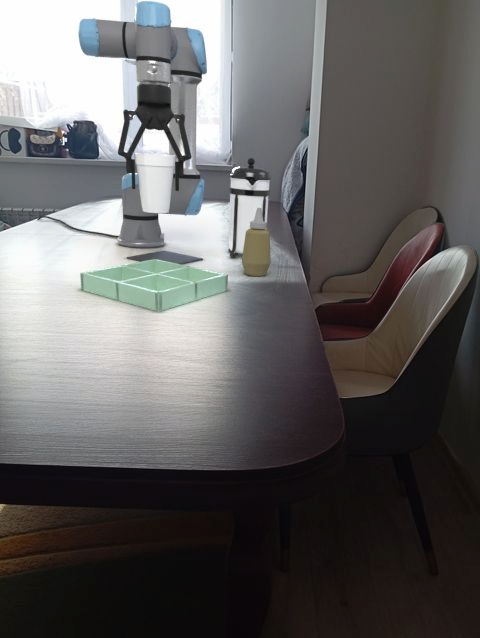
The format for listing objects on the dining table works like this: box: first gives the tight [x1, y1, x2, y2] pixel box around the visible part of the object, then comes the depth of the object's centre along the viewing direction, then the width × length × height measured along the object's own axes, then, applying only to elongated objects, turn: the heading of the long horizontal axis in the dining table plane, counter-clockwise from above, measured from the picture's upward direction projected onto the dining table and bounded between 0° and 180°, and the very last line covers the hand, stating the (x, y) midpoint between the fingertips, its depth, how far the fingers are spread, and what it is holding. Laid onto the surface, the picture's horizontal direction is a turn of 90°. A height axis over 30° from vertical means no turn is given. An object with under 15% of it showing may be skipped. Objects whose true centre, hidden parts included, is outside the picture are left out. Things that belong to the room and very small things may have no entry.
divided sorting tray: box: [79, 259, 229, 313], centre depth 121 cm, size 24×24×4 cm
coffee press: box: [227, 157, 272, 259], centre depth 164 cm, size 17×16×30 cm
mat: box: [126, 250, 204, 265], centre depth 155 cm, size 16×16×1 cm
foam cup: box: [133, 152, 175, 214], centre depth 122 cm, size 10×9×13 cm
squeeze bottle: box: [241, 208, 272, 277], centre depth 140 cm, size 8×8×18 cm
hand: (155, 189), depth 123 cm, fingers closed on foam cup, 9 cm apart
